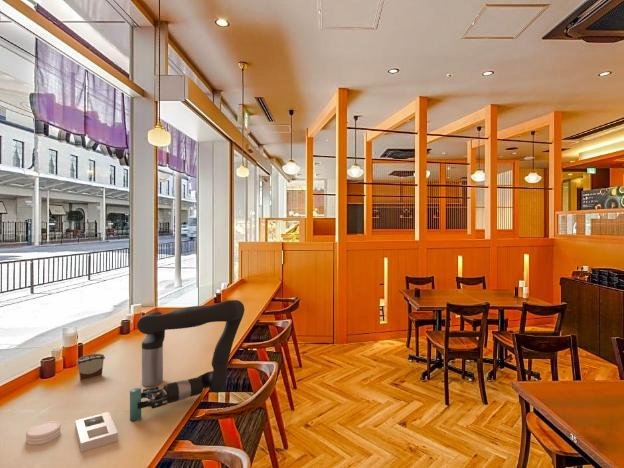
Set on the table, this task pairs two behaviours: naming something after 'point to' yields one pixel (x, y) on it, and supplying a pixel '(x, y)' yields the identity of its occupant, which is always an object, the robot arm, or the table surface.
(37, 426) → the coaster
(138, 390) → the teal cylinder
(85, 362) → the food container
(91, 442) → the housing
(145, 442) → the table surface
